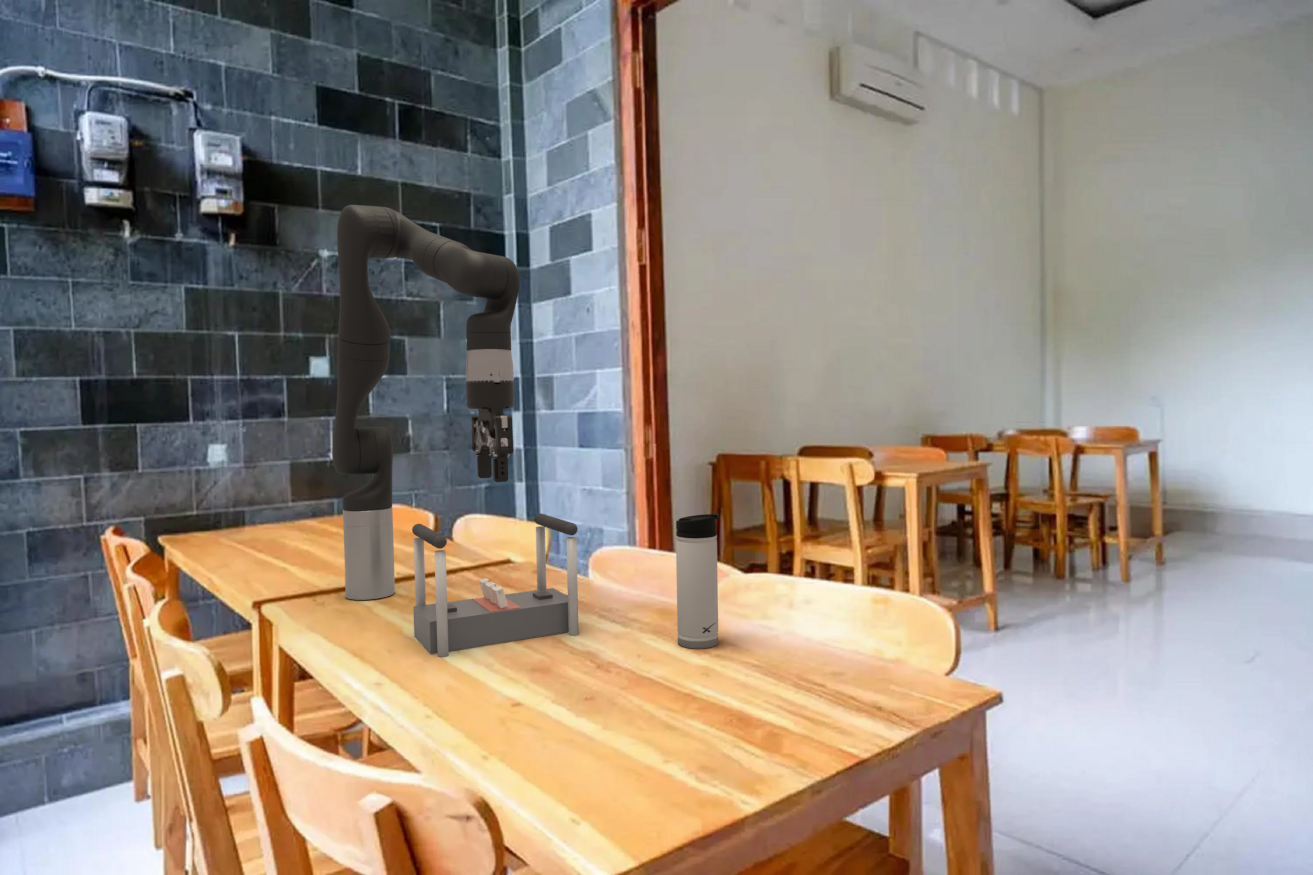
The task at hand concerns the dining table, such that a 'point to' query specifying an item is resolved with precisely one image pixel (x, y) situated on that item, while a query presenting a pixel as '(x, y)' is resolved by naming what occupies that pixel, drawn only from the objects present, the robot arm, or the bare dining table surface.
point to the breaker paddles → (493, 593)
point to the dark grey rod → (556, 524)
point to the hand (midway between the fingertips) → (492, 479)
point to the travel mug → (697, 581)
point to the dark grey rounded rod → (429, 536)
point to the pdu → (493, 607)
